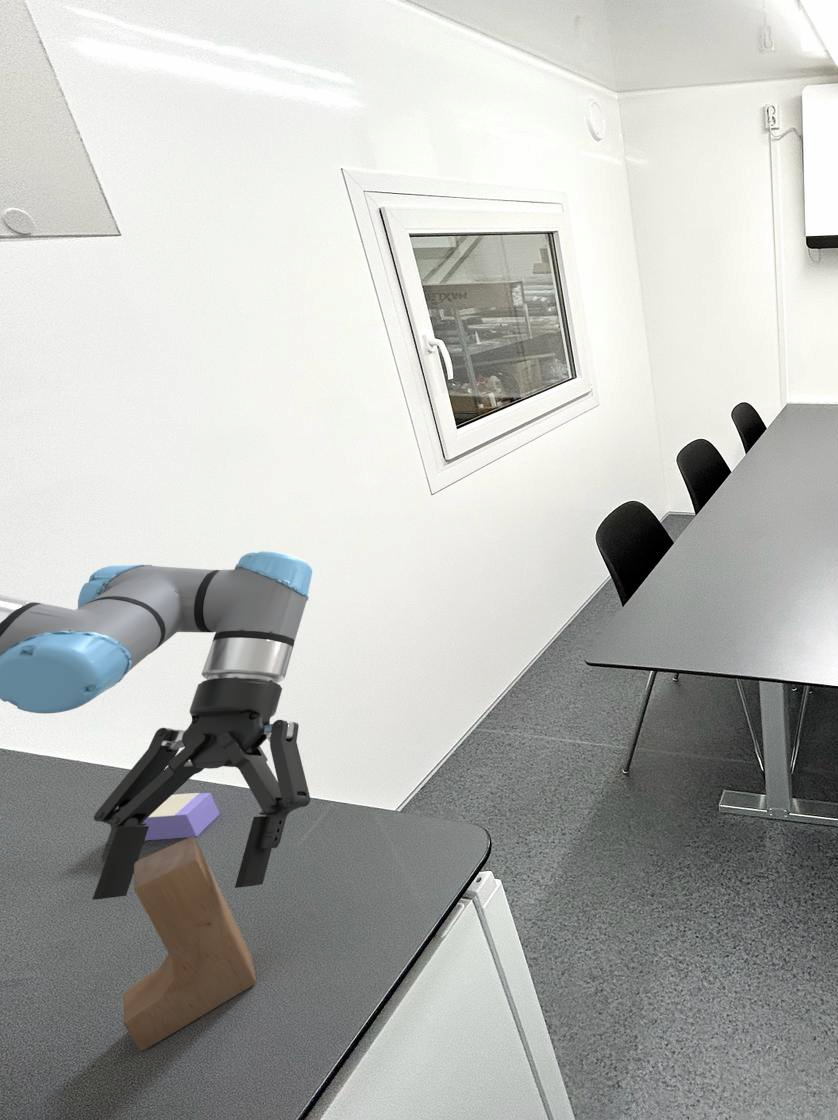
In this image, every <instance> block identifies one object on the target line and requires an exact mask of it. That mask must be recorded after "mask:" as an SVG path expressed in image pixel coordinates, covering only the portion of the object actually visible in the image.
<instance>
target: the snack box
mask: <svg viewBox="0 0 838 1120" xmlns="http://www.w3.org/2000/svg"><path fill="white" fill-rule="evenodd" d="M220 814H221V813H220V811H219V810H218V807H217V804H216V802H215V801H214V798H213V796H212V794H211V792H204V793H203V792H201V793H200V792H190V793H189V792H188V793H177V794H172V795H171V796H170V797H169V798H168V799H167V800H166V801H165V802H164V803H163V804H162V805H160V806H159V807H158V808H157V809H156V810H155V811H154V812H153V813H152V814H151V815H150V816H149V817H148V818H146V819H145V820H144V821H145V823H147V824H146V825H144V826H149V828H148V831H147V834H146V837H145V840H144V842H148V841H158V840H160V841H161V840H172V839H187V838H189V837H194V838H197V837H198V836H200V835H201V833H203V831H205V829H206V828H208V827H209V826H210V825H211V824H212V823H213V822H214V821H216V819H217V818H218V817H219V816H220Z"/></svg>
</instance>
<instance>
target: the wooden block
mask: <svg viewBox="0 0 838 1120" xmlns="http://www.w3.org/2000/svg"><path fill="white" fill-rule="evenodd" d="M133 888H134V892H135V894H136V895H137V897H138V900H139V901H140V903H141V905H142V908H143V909H144V910H145V912H146V914H147V916H148V918H149V921H150V922H151V923H152V925H153V927H154V929H155V931H156V933H157V935H158V936H159V938H160V940H161V942H162V944H163V946H164V947H165V949H166V952H167V953H168V955H167V956H166V957H165V959H164V960H163V962H162V963H161V964H160V966H159V967H158V968H157V969H155V970H154V971H152V972H151V973H150V974H148V975H147V976H145V977H144V978H142V979H140V980H139V981H137V982H136V983H134V984H133V985H131V986H130V987H128V988H127V989H126V990H125V991H124V992H123V993H124V994H123V1025H124V1027H125V1029H126V1030H127V1032H128V1033H129V1035H130V1037H131V1039H132V1040H133V1042H134V1043H135V1045H136V1047H137V1049H138V1050H140V1051H146V1050H148V1049H149V1048H151V1047H153V1046H155V1045H156V1044H157V1043H159V1042H161V1041H163V1040H165V1039H166V1038H168V1037H169V1036H171V1035H173V1034H174V1033H176V1032H178V1031H179V1030H181V1029H182V1028H185V1027H187V1026H188V1025H190V1024H191V1023H193V1022H194V1021H197V1020H198V1019H200V1018H201V1017H203V1016H205V1015H206V1014H208V1013H210V1012H211V1011H213V1010H214V1009H216V1008H218V1007H220V1006H222V1005H223V1004H224V1003H226V1002H228V1001H229V1000H231V999H233V998H234V997H236V996H238V995H240V994H241V993H244V991H246V990H248V989H250V988H252V987H253V986H254V985H255V984H256V982H257V976H256V971H255V966H254V961H253V955H252V954H251V952H250V950H249V948H248V945H247V943H246V941H245V939H244V937H243V935H242V933H241V930H240V928H239V926H238V924H237V922H236V920H235V917H234V916H233V914H232V911H231V908H230V907H229V904H228V903H227V901H226V899H225V897H224V895H223V893H222V890H221V888H220V886H219V884H218V882H217V879H216V878H215V876H214V874H213V871H212V869H211V868H210V865H209V863H208V860H207V859H206V857H205V855H204V852H203V850H202V848H201V845H200V844H199V842H198V840H197V837H188V838H184V839H183V840H180V841H178V842H176V843H173V844H171V845H168V846H167V847H164V848H162V849H160V850H158V851H155V852H153V853H151V854H149V855H147V856H145V857H143V858H140V859H138V861H137V862H135V864H134V873H133Z"/></svg>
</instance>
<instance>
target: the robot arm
mask: <svg viewBox="0 0 838 1120" xmlns="http://www.w3.org/2000/svg"><path fill="white" fill-rule="evenodd" d="M312 577H313V568H312V566H311V565H309V563H308V562H307V561H305V560H304V559H302V558H300V557H297V556H295V555H292V554H288V553H282V552H277V551H276V552H274V551H265V550H264V551H259V552H253V551H252V552H247V553H245V554H244V555H242V556H240V559H239V560H238V562H237V564H235V567H234V568H233V569H207V568H193V567H191V568H190V567H174V566H159V565H152V564H135V565H107V566H104V567H101V568H100V569H97V570H96V571H94V572H93V573H91V575H90V576H89V578H88V582H85V583H84V584H83V585H82V587H81V589H80V591H79V595H78V598H77V608H76V609H72V608H68V607H63V606H57V605H53V604H48V603H47V604H46V603H41V602H37V601H32V600H27V599H22V598H19V597H14V596H9V595H3V594H0V700H1V701H2V702H5V703H7V702H8V703H9V704H11V705H13V706H15V707H16V708H17V709H18V710H21V711H23V712H28V713H34V714H44V715H45V714H57V713H63V712H69V711H73V710H75V709H78V708H80V707H82V706H84V705H86V704H88V703H89V702H91V701H92V700H94V699H95V698H97V697H98V696H100V695H101V694H103V693H104V692H106V691H108V690H110V689H111V688H113V687H115V686H116V685H117V684H118V683H120V682H121V681H122V680H123V679H124V678H125V676H126V675H127V674H128V673H129V672H131V670H132V669H133V668H135V667H136V666H137V665H138V664H139V663H140V662H142V661H143V660H144V659H145V658H146V657H148V656H149V655H150V654H152V653H153V652H155V651H156V650H157V649H159V648H160V647H161V646H162V645H164V644H165V643H166V642H167V641H168V640H170V639H171V638H172V637H174V635H175V634H177V633H214V635H213V638H212V643H211V645H210V648H209V651H208V653H207V657H206V659H205V661H204V665H203V668H202V671H201V673H200V675H201V677H203V678H204V679H205V680H202V681H201V682H200V683H198V684H197V685H196V690H195V693H194V695H193V699H192V702H191V704H190V707H189V714H190V716H191V722H190V724H189V726H188V727H187V728H186V729H185V730H183V729H176V728H170V727H169V728H168V727H160V728H158V729H157V730H156V731H155V733H154V735H153V737H152V739H151V742H150V744H149V746H148V748H147V750H146V751H145V752H144V753H143V754H142V756H141V757H140V758H139V759H138V761H137V762H136V763H135V764H134V765H133V767H132V768H131V769H130V771H129V772H128V773H127V774H126V775H125V776H124V778H123V779H122V780H121V781H120V783H119V784H118V785H117V786H116V787H115V789H113V791H112V792H111V794H110V795H109V796H108V798H107V799H106V800H105V801H104V802H103V803H102V805H101V806H100V807H99V808H98V809H97V810H96V812H95V813H94V814H93V820H94V821H95V822H102V823H104V824H108V825H109V826H110V827H111V828H110V832H109V834H108V838H107V842H106V844H105V846H104V850H103V852H102V855H101V862H102V863H104V865H103V868H102V871H101V874H100V876H99V879H98V882H97V885H96V888H95V890H94V894H93V895H92V896H93V897H92V898H91V900H93V901H94V900H95V901H96V900H103V899H110V898H119V897H126V896H127V895H128V891H129V888H130V885H131V883H132V879H133V877H134V864H135V862H137V861H138V860H139V858H140V855H141V853H142V849H143V846H144V843H145V841H144V840H145V837H146V834H147V831H148V828H149V826H144V825H146V824H147V823H145V821H144V820H145V819H146V818H148V817H149V816H150V815H151V814H152V813H153V812H154V811H155V810H156V809H157V808H158V807H159V806H160V805H162V804H163V803H164V802H165V801H166V800H167V799H168V798H169V797H170V796H171V795H174V793H175V792H177V791H178V790H179V789H180V788H181V787H182V786H183V785H184V784H186V783H187V781H189V780H190V779H191V778H192V777H193V776H195V775H196V774H199V773H201V772H202V771H203V770H204V769H209V770H210V769H211V770H212V769H219V768H222V767H226V768H237V770H239V772H240V774H241V775H242V777H243V779H244V781H245V782H246V784H247V786H248V788H249V789H250V791H251V793H252V794H253V797H254V798H255V800H256V801H257V803H258V805H259V807H260V808H261V811H260V812H259V813H258V814H259V816H258V815H257V816H254V817H253V819H252V822H251V826H250V829H249V833H248V837H247V841H246V844H245V848H244V852H243V856H242V859H241V863H240V865H239V866H240V867H239V871H238V874H237V878H236V881H235V885H234V888H236V889H237V888H247V887H253V886H261V885H263V884H264V880H265V877H266V873H267V869H268V865H269V860H270V857H271V853H272V850H273V849H277V848H278V846H279V845H280V843H281V840H282V836H283V832H284V830H285V829H284V828H285V825H286V821H287V817H288V816H289V814H290V813H291V812H293V811H295V810H297V809H300V808H304V807H307V806H308V805H310V802H311V796H310V791H309V787H308V783H307V778H306V775H305V770H304V767H303V761H302V758H301V754H300V751H299V746H298V743H297V742H298V741H297V740H298V734H299V725H300V724H299V723H298V722H295V721H291V720H285V719H277V720H275V721H274V722H273V723H271V719H272V717H274V716H275V715H276V713H277V709H278V706H279V702H280V699H281V695H282V692H283V687H282V686H281V685H280V684H279V683H281V682H283V681H284V680H285V679H286V676H287V672H288V668H289V665H290V662H291V658H292V657H291V656H292V654H293V649H294V647H295V642H296V638H297V635H298V632H299V628H300V626H301V621H302V618H303V615H304V612H305V608H306V605H307V602H308V601H309V593H310V592H309V591H310V587H311V586H310V585H311V581H312ZM266 740H268V741H269V749H270V752H271V758H272V762H273V766H274V770H275V774H276V775H274V773H273V771H272V769H271V768H270V766H269V764H268V757H267V756H266V753H265V752H264V751H263V749H262V748H261V746H262V745H263V743H264V742H265V741H266ZM180 749H181V750H180ZM179 750H180V751H179Z"/></svg>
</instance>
